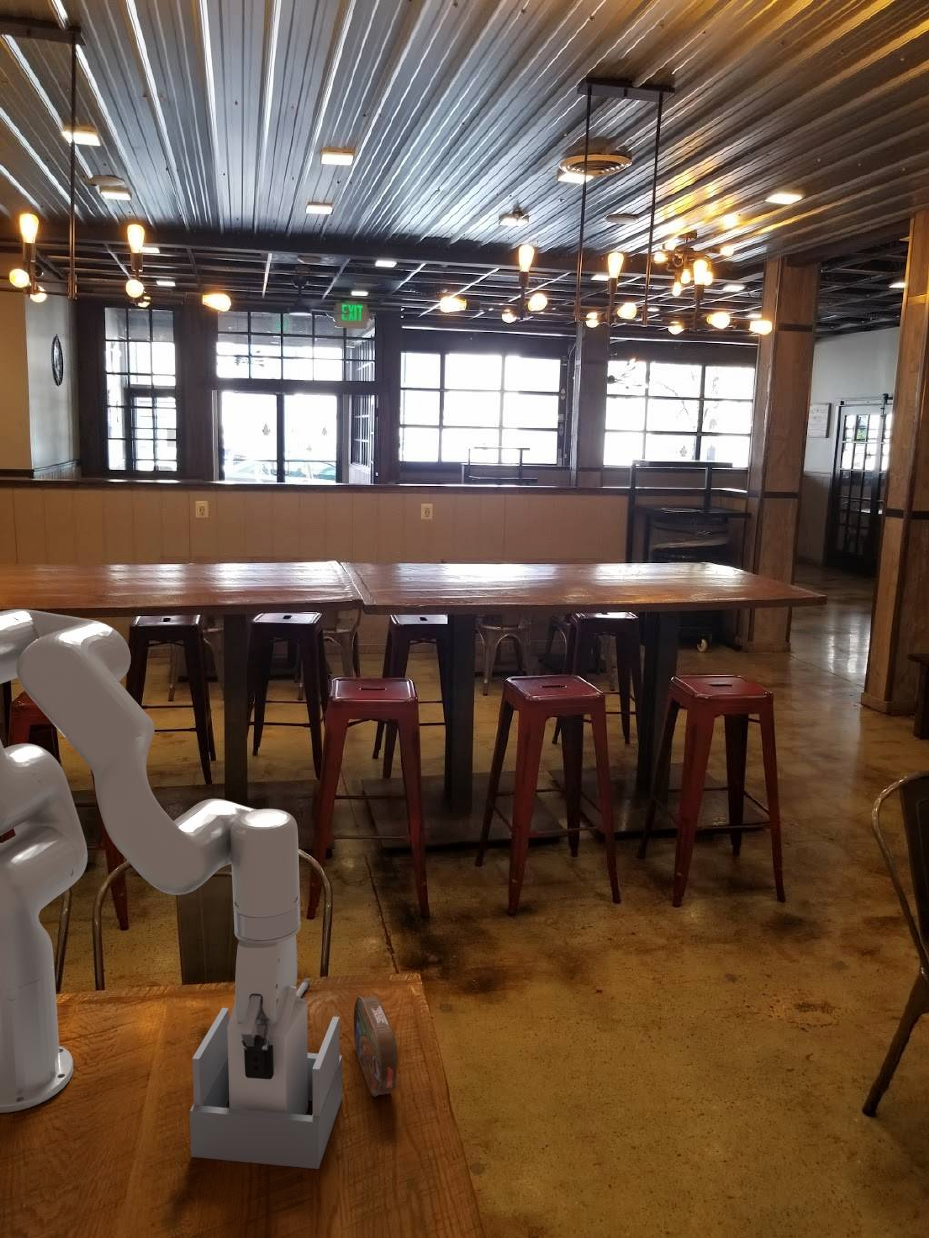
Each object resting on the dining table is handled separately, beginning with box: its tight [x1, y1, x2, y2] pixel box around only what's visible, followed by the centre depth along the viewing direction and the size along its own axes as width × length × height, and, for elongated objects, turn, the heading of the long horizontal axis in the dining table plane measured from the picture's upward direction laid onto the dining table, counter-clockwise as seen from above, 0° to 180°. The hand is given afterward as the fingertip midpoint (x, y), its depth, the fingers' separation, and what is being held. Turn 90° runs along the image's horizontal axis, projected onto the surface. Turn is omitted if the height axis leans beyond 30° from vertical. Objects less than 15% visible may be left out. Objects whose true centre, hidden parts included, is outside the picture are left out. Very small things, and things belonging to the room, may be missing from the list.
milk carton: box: [227, 986, 309, 1115], centre depth 114 cm, size 7×7×19 cm
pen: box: [297, 977, 311, 998], centre depth 140 cm, size 1×14×1 cm, turn 169°
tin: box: [353, 995, 399, 1097], centre depth 126 cm, size 15×3×8 cm, turn 18°
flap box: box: [189, 1007, 343, 1170], centre depth 115 cm, size 15×12×12 cm
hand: (272, 1050), depth 114 cm, fingers open, 9 cm apart
